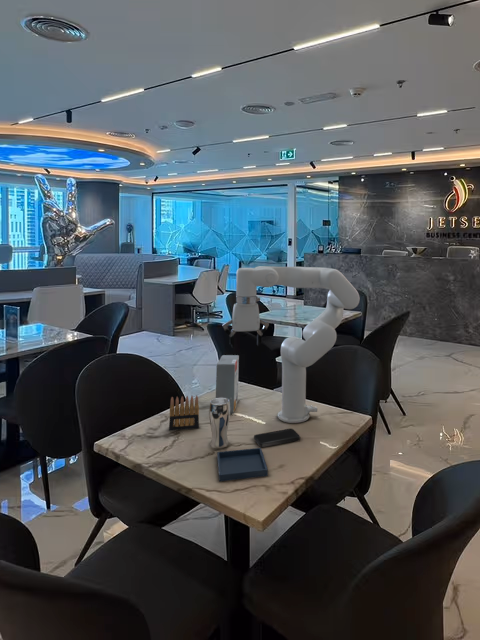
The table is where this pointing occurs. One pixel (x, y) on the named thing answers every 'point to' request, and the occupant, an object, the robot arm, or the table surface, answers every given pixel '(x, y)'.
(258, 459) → the tray
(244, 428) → the table surface
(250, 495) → the table surface
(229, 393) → the hard drive box
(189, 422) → the ammunition clip
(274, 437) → the phone
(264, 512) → the table surface
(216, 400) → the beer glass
